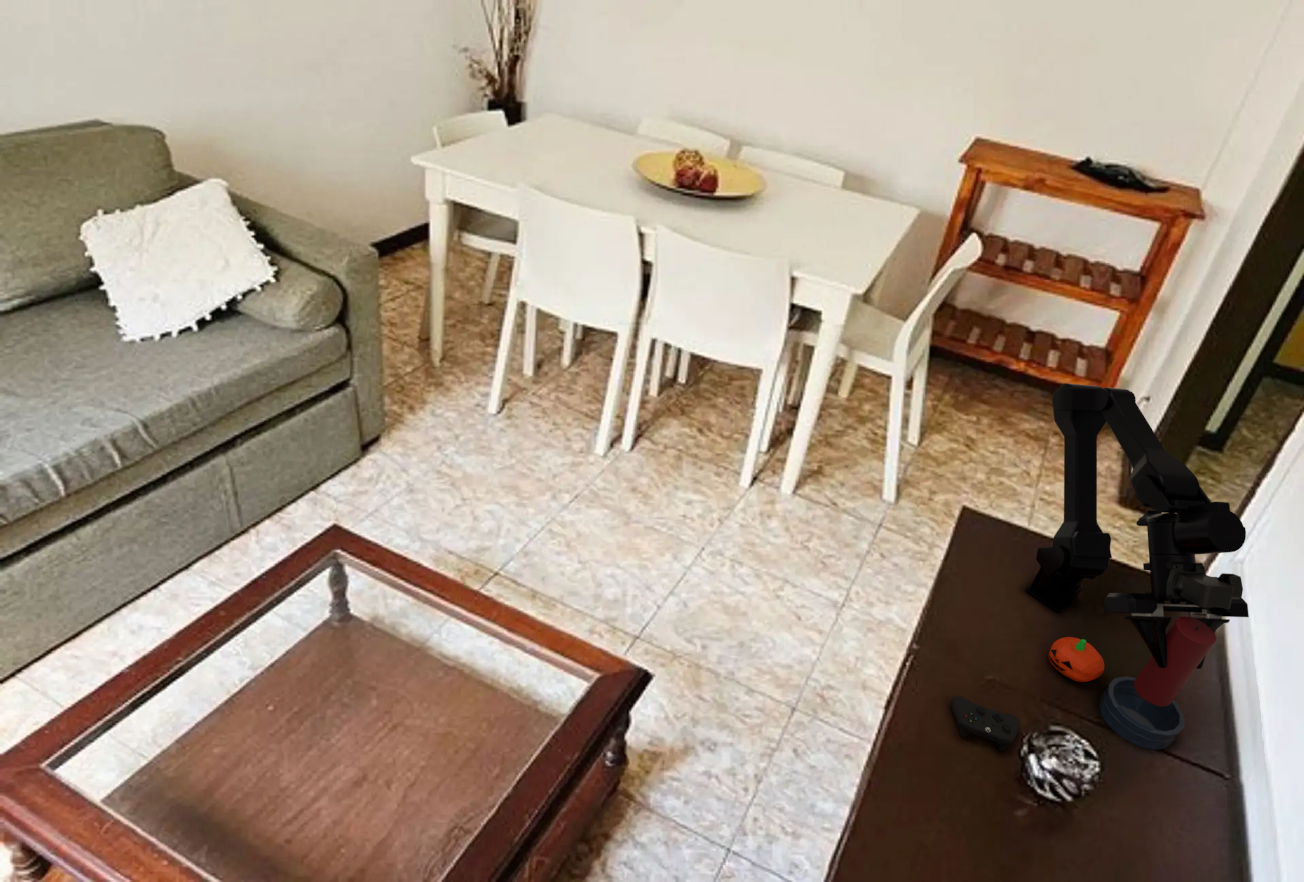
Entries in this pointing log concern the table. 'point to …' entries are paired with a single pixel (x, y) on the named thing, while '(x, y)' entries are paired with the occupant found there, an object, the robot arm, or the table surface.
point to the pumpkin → (1076, 659)
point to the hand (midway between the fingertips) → (1180, 668)
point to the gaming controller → (984, 722)
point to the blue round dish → (1139, 716)
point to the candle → (1175, 661)
